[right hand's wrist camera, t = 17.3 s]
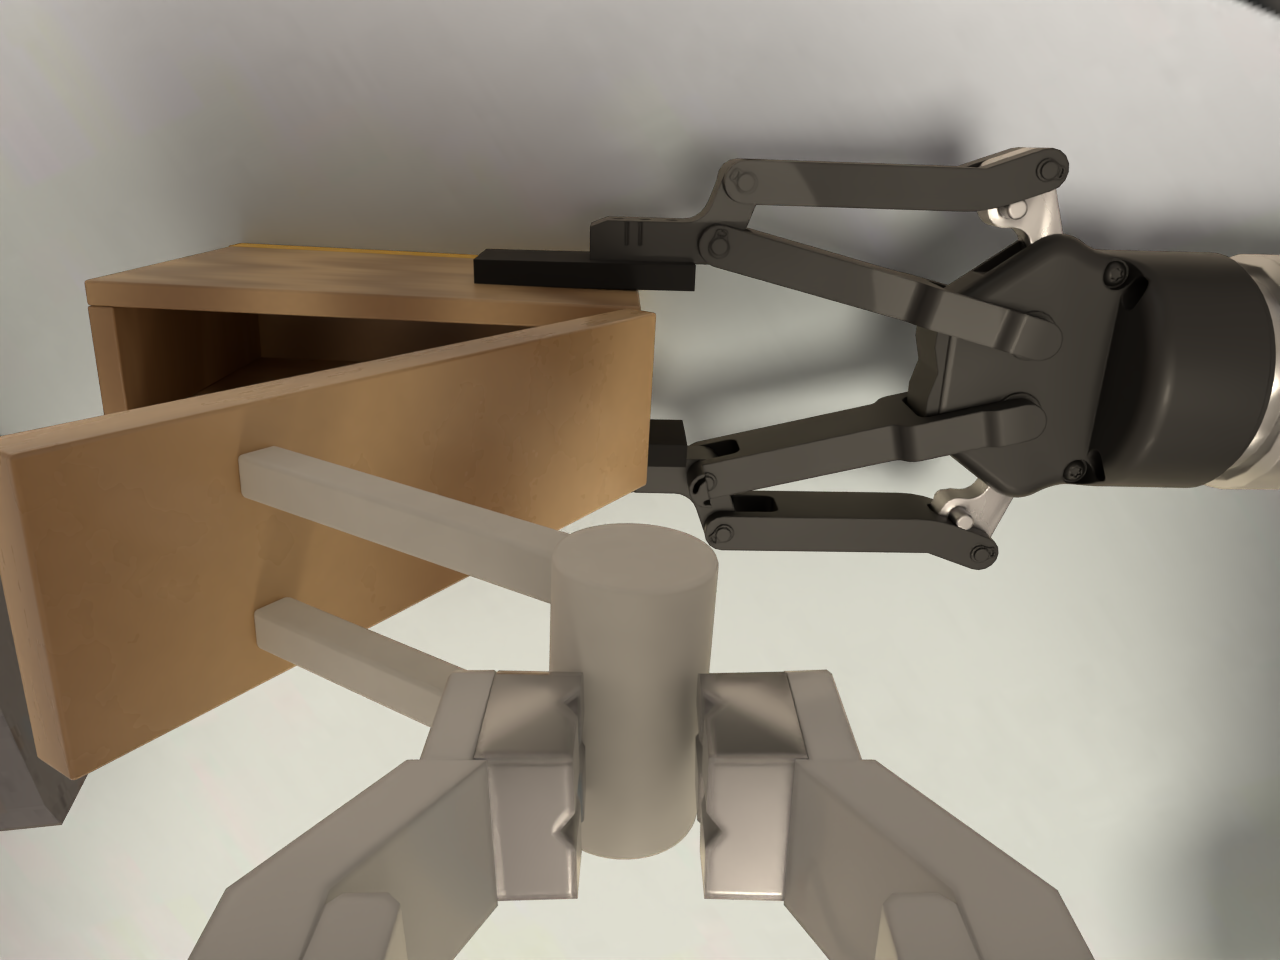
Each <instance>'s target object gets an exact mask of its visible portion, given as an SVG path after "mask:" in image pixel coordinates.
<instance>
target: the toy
mask: <svg viewBox="0 0 1280 960" xmlns="http://www.w3.org/2000/svg"><path fill="white" fill-rule="evenodd" d="M87 775H88V774H86V775H84V776H83V777H81V778H79V779H77V780H71V779H69V778H68V777H66V776H65V775H63V774H62V773H60V772H59V771H57V770H56V769H54V768H53V767H51V766H50V765H48V764H47V763H45V762H44V761H42V760H41V759H39V758H38V757H37V752H36V747H35V742H34V737H33V732H32V727H31V722H30V717H29V712H28V708H27V703H26V698H25V693H24V688H23V683H22V678H21V673H20V668H19V663H18V659H17V654H16V649H15V644H14V639H13V634H12V629H11V624H10V619H9V614H8V610H7V605H6V600H5V595H4V590H3V585H2V580H1V575H0V831H6V830H16V829H25V828H35V827H45V826H54V825H62V823H63V821H64V819H65V817H66V816H67V814H68V812H69V810H70V808H71V806H72V804H73V802H74V800H75V798H76V796H77V794H78V792H79V790H80V788H81V787H82V785H83V783H84V781H85V779H86V777H87Z"/></svg>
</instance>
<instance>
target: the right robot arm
mask: <svg viewBox="0 0 1280 960" xmlns="http://www.w3.org/2000/svg"><path fill="white" fill-rule="evenodd" d="M696 707H697V719H698V731H699V733H698V734H697V735H696V736H695V791H696V808H697V820H698V821H699V822H700V858H701V869H702V879H703V890H704V899H735V900H771V901H784V905H785V907H786V908H787V909H788V910H789V912H790V913H791V914H792V915H793V916H794V918H795V919H796V920H797V921H798V922H799V924H800V925H801V926H802V927H803V929H804V930H805V931H806V932H807V933H808V935H809V936H810V937H811V938H812V939H813V941H814V942H815V943H816V944H817V946H818V947H819V948H820V949H821V950H822V952H823V953H824V954H825V955H826V956H827V958H828V959H829V960H1095V959H1094V957H1093V956H1092V954H1091V952H1090V950H1089V948H1088V946H1087V944H1086V942H1085V941H1084V939H1083V937H1082V935H1081V933H1080V931H1079V929H1078V928H1077V926H1076V924H1075V922H1074V920H1073V918H1072V916H1071V915H1070V913H1069V911H1068V909H1067V907H1066V905H1065V903H1064V902H1063V900H1062V898H1061V896H1060V894H1059V892H1058V890H1056V889H1055V888H1054V887H1052V886H1051V885H1049V884H1048V883H1047V882H1045V881H1044V880H1042V879H1041V878H1040V877H1038V876H1037V875H1035V874H1034V873H1033V872H1031V871H1030V870H1028V869H1027V868H1026V867H1024V866H1023V865H1021V864H1020V863H1019V862H1017V861H1016V860H1014V859H1013V858H1012V857H1010V856H1009V855H1007V854H1006V853H1005V852H1003V851H1002V850H1000V849H999V848H998V847H996V846H995V845H993V844H992V843H991V842H989V841H988V840H986V839H985V838H984V837H982V836H981V835H979V834H978V833H977V832H975V831H974V830H972V829H971V828H970V827H968V826H967V825H965V824H964V823H963V822H961V821H960V820H958V819H957V818H956V817H954V816H953V815H951V814H950V813H949V812H947V811H946V810H944V809H943V808H942V807H940V806H939V805H937V804H936V803H935V802H933V801H932V800H930V799H929V798H928V797H926V796H925V795H923V794H922V793H921V792H919V791H918V790H916V789H915V788H914V787H912V786H911V785H909V784H908V783H907V782H905V781H904V780H902V779H901V778H900V777H898V776H897V775H895V774H894V773H893V772H891V771H890V770H888V769H887V768H886V767H884V766H883V765H881V764H880V763H879V762H877V761H876V760H862V758H861V755H860V753H859V750H858V747H857V744H856V741H855V738H854V735H853V733H852V730H851V727H850V724H849V721H848V718H847V716H846V713H845V710H844V707H843V704H842V701H841V698H840V696H839V693H838V690H837V687H836V684H835V681H834V679H833V676H832V674H831V673H830V672H829V671H828V670H802V671H784V672H748V673H698V679H697V698H696ZM584 712H585V711H584V676H583V672H548V671H500V670H499V671H498V672H496V671H495V670H455V671H454V672H452V673H451V674H450V675H449V676H448V679H447V682H446V685H445V688H444V691H443V694H442V696H441V699H440V702H439V705H438V708H437V711H436V714H435V717H434V720H433V723H432V725H431V728H430V731H429V734H428V737H427V740H426V743H425V746H424V749H423V752H422V754H421V757H420V760H406V761H405V762H403V763H402V764H400V765H399V766H398V767H396V768H395V769H393V770H392V771H391V772H389V773H388V774H386V775H385V776H384V777H382V778H381V779H379V780H378V781H377V782H375V783H374V784H372V785H371V786H370V787H368V788H367V789H365V790H364V791H362V792H361V793H360V794H358V795H357V796H355V797H354V798H353V799H351V800H350V801H348V802H347V803H346V804H344V805H343V806H341V807H340V808H339V809H337V810H336V811H334V812H333V813H332V814H330V815H329V816H327V817H326V818H325V819H323V820H322V821H320V822H319V823H318V824H316V825H315V826H313V827H312V828H311V829H309V830H308V831H306V832H305V833H304V834H302V835H301V836H299V837H298V838H297V839H295V840H294V841H292V842H291V843H290V844H288V845H287V846H285V847H284V848H282V849H281V850H280V851H278V852H277V853H275V854H274V855H273V856H271V857H270V858H268V859H267V860H266V861H264V862H263V863H261V864H260V865H259V866H257V867H256V868H254V869H253V870H252V871H250V872H249V873H247V874H246V875H245V876H243V877H242V878H240V879H239V880H238V881H236V882H235V883H233V884H232V885H231V886H229V887H228V888H226V890H225V892H224V893H223V895H222V897H221V899H220V901H219V903H218V905H217V906H216V908H215V910H214V912H213V914H212V916H211V917H210V919H209V921H208V923H207V925H206V927H205V929H204V930H203V932H202V934H201V936H200V938H199V940H198V942H197V943H196V945H195V947H194V949H193V951H192V953H191V954H190V956H189V958H188V960H453V959H454V958H455V957H456V955H457V954H458V953H459V952H460V951H461V949H462V948H463V947H464V946H465V945H466V943H467V942H468V941H469V940H470V939H471V937H472V936H473V935H474V934H475V932H476V931H477V930H478V929H479V928H480V926H481V925H482V924H483V923H484V922H485V920H486V919H487V918H488V917H489V916H490V914H491V913H492V912H493V911H494V909H495V908H496V907H497V906H498V902H497V901H510V900H545V899H577V898H578V887H579V875H580V864H581V853H582V843H581V823H582V822H583V821H584V814H585V797H586V761H585V745H584V743H583V742H582V737H583V724H584Z"/></svg>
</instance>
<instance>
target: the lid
mask: <svg viewBox="0 0 1280 960" xmlns="http://www.w3.org/2000/svg"><path fill="white" fill-rule="evenodd" d="M655 324H656V314H655V313H653V312H646V311H640V310H633V309H623V310H618V311H613V312H608V313H603V314H598V315H593V316H588V317H583V318H578V319H574V320H569V321H564V322H559V323H554V324H549V325H544V326H539V327H534V328H529V329H524V330H520V331H515V332H510V333H505V334H500V335H495V336H490V337H485V338H480V339H475V340H471V341H466V342H461V343H456V344H451V345H446V346H441V347H436V348H431V349H426V350H421V351H417V352H412V353H407V354H402V355H397V356H392V357H387V358H382V359H377V360H372V361H368V362H363V363H358V364H353V365H348V366H343V367H338V368H333V369H328V370H323V371H318V372H314V373H309V374H304V375H299V376H294V377H289V378H284V379H279V380H274V381H269V382H265V383H260V384H255V385H250V386H245V387H240V388H235V389H230V390H225V391H220V392H215V393H211V394H206V395H201V396H196V397H191V398H186V399H181V400H176V401H171V402H166V403H161V404H157V405H152V406H147V407H142V408H137V409H132V410H127V411H122V412H117V413H112V414H108V415H103V416H98V417H93V418H88V419H83V420H78V421H73V422H68V423H63V424H58V425H54V426H49V427H44V428H39V429H34V430H29V431H24V432H19V433H14V434H9V435H5V436H0V575H1V580H2V585H3V590H4V595H5V600H6V605H7V610H8V614H9V619H10V624H11V629H12V634H13V639H14V644H15V649H16V654H17V659H18V663H19V668H20V673H21V678H22V683H23V688H24V693H25V698H26V703H27V708H28V712H29V717H30V722H31V727H32V732H33V737H34V742H35V747H36V752H37V757H38V758H39V759H41V760H42V761H44V762H45V763H47V764H48V765H50V766H51V767H53V768H54V769H56V770H57V771H59V772H60V773H62V774H63V775H65V776H66V777H68V778H69V779H71V780H77V779H79V778H81V777H83V776H84V775H86V774H88V773H90V772H92V771H94V770H96V769H98V768H100V767H102V766H104V765H106V764H108V763H110V762H112V761H113V760H115V759H117V758H119V757H121V756H123V755H125V754H127V753H129V752H131V751H133V750H135V749H137V748H139V747H140V746H142V745H144V744H146V743H148V742H150V741H152V740H154V739H156V738H158V737H160V736H162V735H164V734H166V733H167V732H169V731H171V730H173V729H175V728H177V727H179V726H181V725H183V724H185V723H187V722H189V721H191V720H193V719H195V718H196V717H198V716H200V715H202V714H204V713H206V712H208V711H210V710H212V709H214V708H216V707H218V706H220V705H222V704H223V703H225V702H227V701H229V700H231V699H233V698H235V697H237V696H239V695H241V694H243V693H245V692H247V691H249V690H250V689H252V688H254V687H256V686H258V685H260V684H262V683H264V682H266V681H268V680H270V679H272V678H274V677H276V676H278V675H279V674H281V673H283V672H285V671H287V670H289V669H291V668H293V667H295V666H299V667H301V668H304V669H306V670H308V671H310V672H312V673H314V674H317V675H319V676H321V677H323V678H325V679H327V680H329V681H332V682H334V683H336V684H338V685H340V686H342V687H345V688H347V689H349V690H351V691H353V692H355V693H357V694H360V695H362V696H364V697H366V698H368V699H370V700H373V701H375V702H377V703H379V704H381V705H383V706H386V707H388V708H390V709H392V710H394V711H396V712H398V713H401V714H403V715H405V716H407V717H409V718H411V719H414V720H416V721H418V722H420V723H422V724H424V725H426V726H429V727H431V725H432V723H433V720H434V717H435V714H436V711H437V708H438V705H439V702H440V699H441V696H442V694H443V691H444V688H445V685H446V682H447V679H448V676H449V675H450V674H451V673H452V672H454V671H455V670H465V669H463V668H460V667H458V666H455V665H453V664H451V663H448V662H446V661H443V660H441V659H438V658H436V657H434V656H431V655H429V654H426V653H424V652H422V651H419V650H417V649H414V648H412V647H409V646H407V645H405V644H402V643H400V642H397V641H395V640H392V639H390V638H388V637H385V636H383V635H380V634H378V633H376V632H373V631H371V630H368V628H370V627H372V626H374V625H376V624H378V623H380V622H382V621H384V620H386V619H388V618H389V617H391V616H393V615H395V614H397V613H399V612H401V611H403V610H405V609H407V608H409V607H411V606H413V605H415V604H416V603H418V602H420V601H422V600H424V599H426V598H428V597H430V596H432V595H434V594H436V593H438V592H440V591H442V590H444V589H445V588H447V587H449V586H451V585H453V584H455V583H457V582H459V581H461V580H463V579H465V578H467V577H469V576H472V577H475V578H478V579H481V580H484V581H487V582H489V583H492V584H495V585H498V586H501V587H504V588H507V589H510V590H512V591H515V592H518V593H521V594H524V595H527V596H530V597H533V598H536V599H538V600H541V601H544V602H547V603H550V604H551V612H550V660H549V672H583V676H584V711H585V712H584V724H583V737H582V742H583V743H584V745H585V761H586V797H585V814H584V821H583V822H582V823H581V843H582V851H585V852H587V853H590V854H593V855H596V856H600V857H605V858H611V859H639V858H644V857H649V856H653V855H656V854H659V853H661V852H664V851H666V850H668V849H670V848H672V847H673V846H675V845H676V844H677V843H679V842H680V841H681V840H682V839H683V838H684V837H685V836H686V835H687V833H688V832H689V831H690V829H691V828H692V826H693V824H694V821H695V818H696V814H697V808H696V791H695V736H696V735H697V734H698V733H699V731H698V719H697V707H696V698H697V679H698V673H709V668H710V657H711V645H712V634H713V623H714V612H715V600H716V589H717V578H718V560H717V557H716V554H715V553H714V551H713V550H712V549H711V548H710V547H709V546H708V545H707V544H706V543H705V542H703V541H701V540H700V539H698V538H696V537H694V536H692V535H689V534H687V533H684V532H681V531H678V530H675V529H671V528H666V527H661V526H655V525H648V524H633V523H619V524H606V525H599V526H593V527H589V528H585V529H582V530H579V531H576V532H574V533H571V534H568V533H565V532H561V531H558V530H559V529H561V528H563V527H565V526H567V525H569V524H571V523H573V522H575V521H577V520H579V519H581V518H582V517H584V516H586V515H588V514H590V513H592V512H594V511H596V510H598V509H600V508H602V507H604V506H606V505H608V504H609V503H611V502H613V501H615V500H617V499H619V498H621V497H623V496H625V495H627V494H629V493H631V492H633V491H635V490H637V489H638V488H640V487H642V486H644V485H646V481H647V464H648V446H649V429H650V412H651V394H652V377H653V359H654V342H655Z"/></svg>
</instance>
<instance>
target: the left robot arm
mask: <svg viewBox="0 0 1280 960" xmlns="http://www.w3.org/2000/svg"><path fill="white" fill-rule="evenodd" d="M1068 172H1069V162H1068V159H1067V157H1066V155H1065V154H1064V153H1063V152H1062V151H1061V150H1058V149H1055V148H1031V147H1017V148H1010V149H1007V150H1004V151H1001V152H998V153H995V154H992V155H989V156H986V157H983V158H980V159H977V160H974V161H971V162H968V163H966V164H963V165H960V166H942V165H913V164H884V163H855V162H826V161H797V160H768V159H740V158H737V159H731V160H729V161H727V162H726V163H724V164H723V165H722V167H721V168H720V170H719V172H718V176H717V181H716V183H715V186H714V188H713V191H712V193H711V196H710V198H709V201H708V203H707V204H706V206H705V208H704V209H703V210H702V211H701V212H700V213H699V214H697V215H696V216H693V217H690V218H647V217H611V216H608V217H605V218H603V219H600V220H597V221H595V222H592V223H591V226H590V252H582V251H545V250H508V249H486V250H485V251H483V252H482V253H481V254H480V255H478V256H477V257H476V258H474V259H473V266H474V284H494V285H514V286H534V287H554V288H592V289H630V290H668V291H694V290H695V270H696V265H695V264H709V265H711V266H713V267H717V268H720V269H724V270H727V271H731V272H734V273H738V274H741V275H745V276H748V277H752V278H755V279H759V280H762V281H766V282H770V283H773V284H777V285H780V286H784V287H787V288H791V289H794V290H798V291H801V292H805V293H808V294H812V295H815V296H819V297H822V298H826V299H829V300H833V301H836V302H840V303H843V304H847V305H850V306H854V307H857V308H861V309H864V310H868V311H871V312H875V313H878V314H882V315H885V316H889V317H892V318H896V319H900V320H903V321H906V322H909V323H912V324H914V325H917V328H916V342H917V350H918V362H917V364H916V367H915V369H914V372H913V374H912V377H911V379H910V381H909V388H908V392H904V393H900V394H895V395H890V396H886V397H883V398H880V399H878V400H877V401H876V402H875V403H873V404H870V405H866V406H861V407H857V408H852V409H847V410H843V411H838V412H833V413H829V414H824V415H819V416H815V417H810V418H805V419H801V420H796V421H791V422H787V423H782V424H778V425H773V426H768V427H764V428H759V429H754V430H750V431H745V432H740V433H736V434H731V435H726V436H722V437H717V438H712V439H708V440H703V441H699V442H695V443H693V444H691V445H690V446H687V441H686V436H685V431H684V426H683V421H682V420H655V419H650V429H649V446H648V464H647V481H646V485H644V486H642V487H640V488H638V489H637V490H635V491H633V492H635V493H675V494H681V495H684V496H686V497H687V498H689V499H690V500H691V501H692V502H693V503H694V505H695V507H696V510H697V513H698V515H699V518H700V521H701V524H702V527H703V530H704V533H705V538H706V541H707V542H708V544H709V545H710V546H712V547H713V548H715V549H719V550H749V551H825V552H900V553H929V554H932V555H935V556H938V557H940V558H943V559H946V560H949V561H951V562H954V563H957V564H960V565H962V566H965V567H968V568H971V569H976V570H981V569H986V568H987V567H989V566H991V565H992V564H993V563H994V562H995V560H996V559H997V556H998V546H997V545H996V543H995V542H994V541H993V539H992V538H991V536H992V534H993V532H994V530H995V529H996V527H997V525H998V523H999V521H1000V520H1001V518H1002V516H1003V514H1004V513H1005V511H1006V509H1007V507H1008V506H1009V504H1010V502H1011V500H1012V499H1013V497H1024V496H1028V495H1031V494H1034V493H1036V492H1038V491H1040V490H1042V489H1044V488H1047V487H1050V486H1054V485H1059V484H1076V485H1088V486H1121V487H1171V488H1190V487H1197V486H1201V485H1205V486H1210V487H1214V488H1218V489H1269V490H1280V255H1267V254H1238V255H1235V256H1232V257H1227V256H1225V255H1222V254H1218V253H1210V252H1174V251H1135V250H1100V249H1093V248H1091V247H1089V246H1088V245H1086V244H1085V243H1083V242H1082V241H1081V240H1079V239H1077V238H1075V237H1073V236H1070V235H1067V234H1063V230H1062V224H1061V218H1060V211H1059V205H1058V198H1057V192H1056V188H1058V187H1059V186H1060V185H1061V184H1062V183H1063V182H1064V181H1065V179H1066V177H1067V175H1068ZM756 205H782V206H812V207H842V208H872V209H902V210H932V211H961V212H965V211H977V213H978V216H979V218H980V219H981V220H982V221H983V222H984V223H986V224H988V225H992V226H996V227H1000V228H1012V229H1013V230H1014V231H1015V232H1016V234H1017V236H1018V239H1019V240H1017V241H1016V242H1014V243H1013V244H1011V245H1010V246H1008V247H1007V248H1005V249H1003V250H1002V251H1000V252H999V253H997V254H996V255H994V256H993V257H991V258H990V259H988V260H986V261H985V262H983V263H982V264H980V265H979V266H977V267H976V268H974V269H973V270H971V271H969V272H968V273H966V274H965V275H963V276H962V277H960V278H959V279H957V280H955V281H954V282H952V283H951V284H949V285H946V284H942V283H939V282H935V281H932V280H928V279H925V278H921V277H918V276H915V275H911V274H908V273H903V272H898V271H894V270H891V269H888V268H884V267H881V266H877V265H874V264H870V263H867V262H864V261H860V260H857V259H853V258H850V257H846V256H843V255H839V254H836V253H833V252H829V251H826V250H822V249H819V248H815V247H812V246H808V245H805V244H802V243H798V242H795V241H791V240H788V239H784V238H781V237H777V236H774V235H771V234H767V233H764V232H760V231H757V230H753V229H750V228H747V225H748V222H749V220H750V218H751V215H752V213H753V211H754V208H755V206H756ZM947 455H950V456H951V457H953V458H954V459H955V460H956V461H958V462H959V463H960V464H961V465H963V466H964V467H965V468H966V469H968V470H969V471H970V472H971V473H973V474H974V475H975V476H976V477H978V479H977V480H976V481H975V483H973V484H972V485H971V486H969V487H967V488H963V489H953V488H948V489H940V490H938V491H937V492H936V493H935V494H934V498H933V499H931V498H928V497H924V496H920V495H915V494H908V493H881V492H812V491H752V490H756V489H761V488H766V487H771V486H775V485H780V484H785V483H789V482H794V481H799V480H804V479H808V478H813V477H818V476H823V475H827V474H832V473H837V472H842V471H846V470H851V469H856V468H861V467H865V466H870V465H875V464H880V463H884V462H889V461H894V460H903V461H908V462H917V461H923V460H928V459H933V458H938V457H942V456H947ZM631 493H632V492H631Z"/></svg>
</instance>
